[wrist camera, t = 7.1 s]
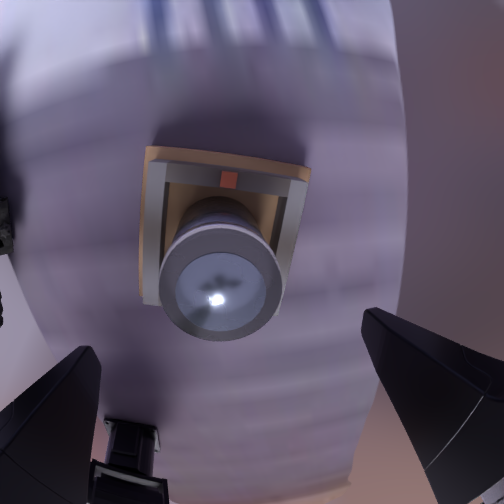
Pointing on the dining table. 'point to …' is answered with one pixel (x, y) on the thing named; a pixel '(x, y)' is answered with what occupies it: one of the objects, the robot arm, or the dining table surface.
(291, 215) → the mount
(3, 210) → the night vision scope
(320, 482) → the dining table surface
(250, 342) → the dining table surface
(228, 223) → the lens
